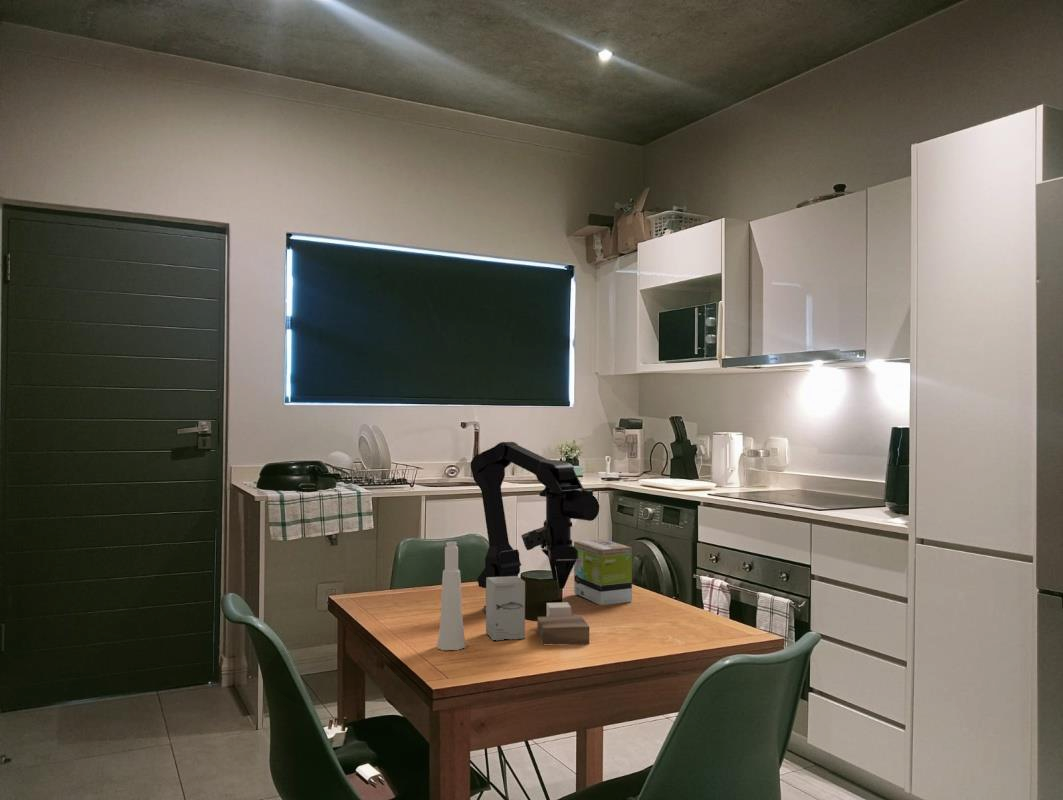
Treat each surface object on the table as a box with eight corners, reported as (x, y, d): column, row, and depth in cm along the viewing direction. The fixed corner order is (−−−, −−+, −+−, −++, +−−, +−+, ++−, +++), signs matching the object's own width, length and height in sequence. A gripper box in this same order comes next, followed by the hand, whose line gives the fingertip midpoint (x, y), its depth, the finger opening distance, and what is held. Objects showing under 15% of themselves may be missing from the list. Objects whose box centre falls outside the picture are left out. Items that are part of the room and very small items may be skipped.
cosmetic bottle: (471, 647, 172) (471, 542, 173) (448, 653, 168) (448, 545, 169) (453, 641, 177) (454, 539, 177) (431, 647, 172) (431, 542, 173)
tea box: (572, 594, 224) (572, 540, 225) (604, 591, 228) (604, 538, 229) (600, 606, 211) (600, 548, 211) (633, 602, 215) (633, 545, 215)
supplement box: (492, 641, 177) (492, 582, 177) (485, 633, 184) (485, 576, 184) (525, 639, 179) (525, 581, 179) (517, 631, 186) (517, 574, 186)
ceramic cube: (546, 624, 192) (546, 602, 192) (567, 623, 193) (567, 602, 193) (549, 629, 187) (549, 607, 187) (571, 629, 188) (571, 607, 188)
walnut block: (537, 634, 184) (537, 616, 184) (581, 633, 185) (581, 615, 185) (543, 647, 174) (543, 628, 174) (589, 645, 175) (589, 626, 175)
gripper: (519, 512, 199) (519, 577, 199) (528, 522, 180) (528, 593, 180) (565, 512, 200) (565, 576, 200) (578, 521, 182) (578, 592, 181)
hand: (558, 584), depth 190 cm, fingers open, 9 cm apart
